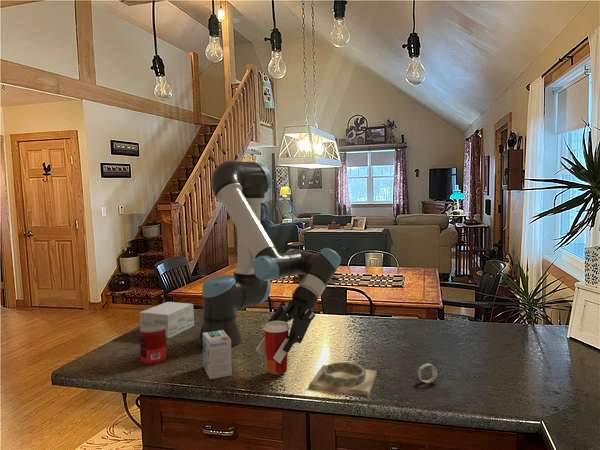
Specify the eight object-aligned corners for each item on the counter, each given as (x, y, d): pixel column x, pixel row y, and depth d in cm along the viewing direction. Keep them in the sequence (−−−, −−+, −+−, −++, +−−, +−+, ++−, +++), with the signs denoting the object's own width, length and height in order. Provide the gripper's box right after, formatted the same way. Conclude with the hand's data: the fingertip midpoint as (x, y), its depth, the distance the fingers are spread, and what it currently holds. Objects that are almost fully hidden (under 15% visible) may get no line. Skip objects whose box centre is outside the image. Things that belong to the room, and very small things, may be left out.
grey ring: (438, 383, 121) (438, 365, 120) (421, 385, 120) (421, 367, 119) (432, 378, 124) (432, 361, 123) (416, 380, 123) (416, 363, 122)
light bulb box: (202, 366, 136) (201, 332, 135) (224, 363, 138) (223, 329, 138) (209, 379, 126) (208, 342, 125) (233, 375, 128) (232, 339, 128)
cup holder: (309, 388, 119) (309, 376, 119) (323, 368, 132) (322, 358, 132) (368, 395, 114) (368, 383, 114) (376, 374, 127) (376, 363, 127)
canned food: (171, 357, 144) (170, 324, 143) (155, 366, 136) (154, 331, 136) (151, 355, 146) (150, 322, 146) (135, 363, 139) (134, 329, 138)
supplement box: (167, 323, 184) (166, 301, 183) (194, 326, 179) (193, 303, 179) (139, 335, 168) (138, 311, 167) (168, 339, 163) (167, 314, 163)
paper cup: (291, 365, 133) (291, 320, 132) (288, 376, 125) (287, 328, 124) (266, 365, 133) (265, 319, 132) (261, 375, 126) (260, 327, 125)
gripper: (338, 305, 130) (298, 373, 121) (293, 293, 146) (254, 353, 136) (325, 290, 126) (282, 360, 117) (280, 280, 142) (239, 341, 132)
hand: (267, 356), depth 127 cm, fingers closed on paper cup, 8 cm apart
